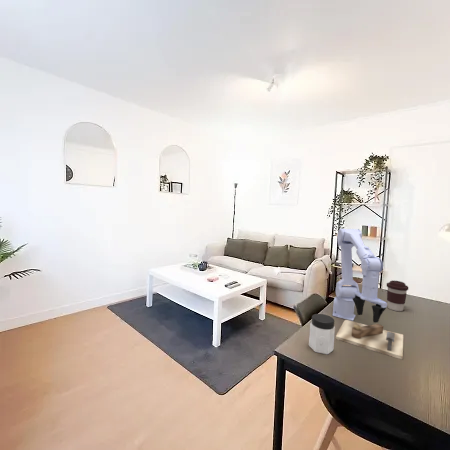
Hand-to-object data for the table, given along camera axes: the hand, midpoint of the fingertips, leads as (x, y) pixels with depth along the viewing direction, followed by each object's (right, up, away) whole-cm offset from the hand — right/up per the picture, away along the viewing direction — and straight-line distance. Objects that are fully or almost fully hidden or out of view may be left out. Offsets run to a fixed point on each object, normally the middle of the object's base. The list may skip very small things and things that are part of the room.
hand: (367, 318), depth 109 cm
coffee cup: (+34, -7, +34) cm, 48 cm away
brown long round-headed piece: (0, -7, +1) cm, 7 cm away
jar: (-23, -9, -8) cm, 26 cm away
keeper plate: (+1, -9, +1) cm, 9 cm away
